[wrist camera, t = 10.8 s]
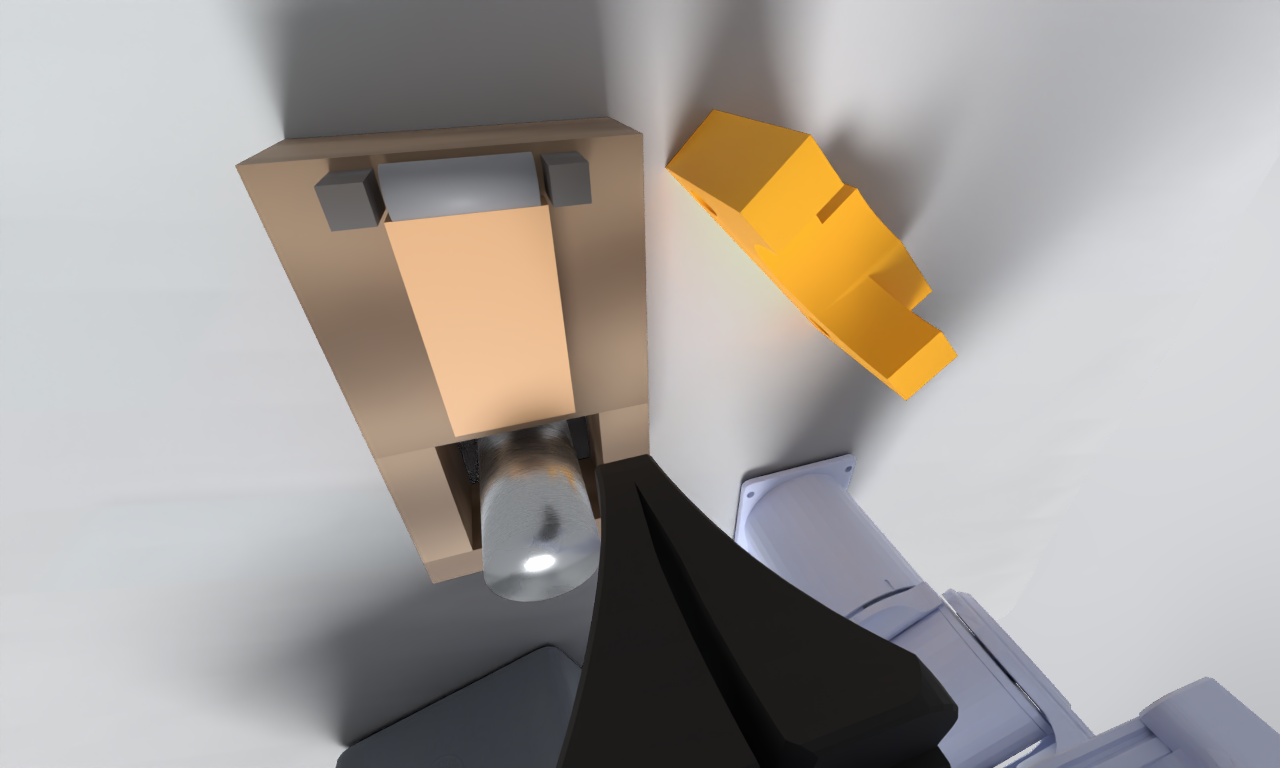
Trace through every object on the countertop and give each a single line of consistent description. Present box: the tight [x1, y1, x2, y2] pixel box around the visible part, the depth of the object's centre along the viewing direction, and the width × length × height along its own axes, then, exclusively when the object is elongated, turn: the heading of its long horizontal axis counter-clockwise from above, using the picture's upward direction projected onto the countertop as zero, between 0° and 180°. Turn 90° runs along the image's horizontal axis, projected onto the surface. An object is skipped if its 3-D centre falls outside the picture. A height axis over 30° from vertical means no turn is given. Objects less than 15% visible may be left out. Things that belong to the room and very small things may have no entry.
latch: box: [378, 152, 576, 437], centre depth 14 cm, size 8×4×1 cm, turn 1°
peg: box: [478, 420, 601, 602], centre depth 20 cm, size 4×4×8 cm
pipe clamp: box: [665, 109, 957, 400], centre depth 19 cm, size 12×4×6 cm, turn 46°
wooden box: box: [235, 117, 650, 584], centre depth 18 cm, size 17×10×6 cm, turn 1°
